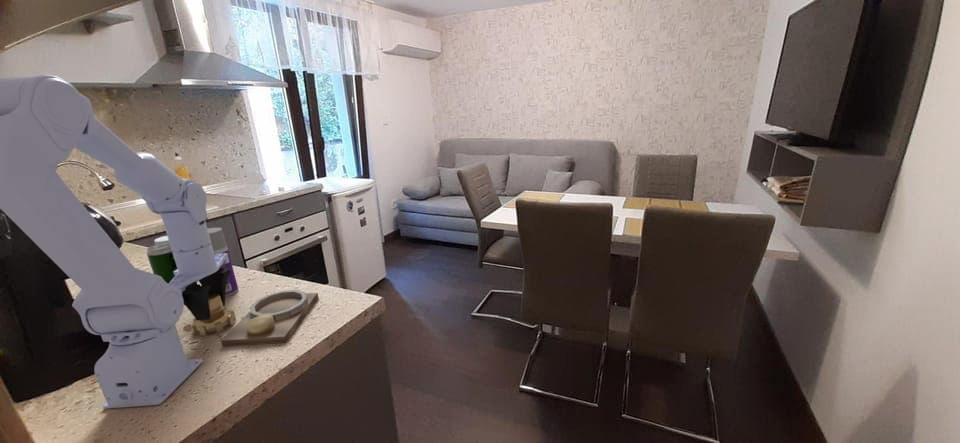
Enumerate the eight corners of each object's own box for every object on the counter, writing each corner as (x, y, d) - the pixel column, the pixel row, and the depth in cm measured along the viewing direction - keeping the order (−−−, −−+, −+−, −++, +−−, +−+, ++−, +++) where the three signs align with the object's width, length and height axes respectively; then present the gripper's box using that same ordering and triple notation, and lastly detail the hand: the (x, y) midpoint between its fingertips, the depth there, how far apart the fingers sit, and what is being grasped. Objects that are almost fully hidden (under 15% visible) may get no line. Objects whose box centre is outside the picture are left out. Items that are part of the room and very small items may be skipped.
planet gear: (222, 335, 68) (214, 306, 67) (184, 337, 68) (175, 308, 66) (242, 315, 75) (235, 288, 73) (208, 317, 75) (200, 290, 73)
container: (243, 287, 87) (227, 227, 82) (228, 297, 82) (211, 234, 78) (224, 287, 87) (208, 227, 82) (209, 297, 83) (190, 234, 78)
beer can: (160, 303, 81) (143, 253, 77) (162, 294, 85) (146, 245, 81) (191, 296, 84) (176, 246, 80) (191, 287, 88) (177, 240, 84)
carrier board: (285, 342, 66) (282, 329, 65) (222, 346, 65) (218, 333, 64) (318, 297, 81) (316, 286, 80) (267, 300, 80) (264, 289, 79)
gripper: (196, 233, 73) (213, 295, 77) (135, 264, 59) (160, 336, 64) (232, 232, 74) (248, 293, 78) (180, 261, 60) (202, 333, 64)
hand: (211, 312), depth 71 cm, fingers closed on planet gear, 4 cm apart
